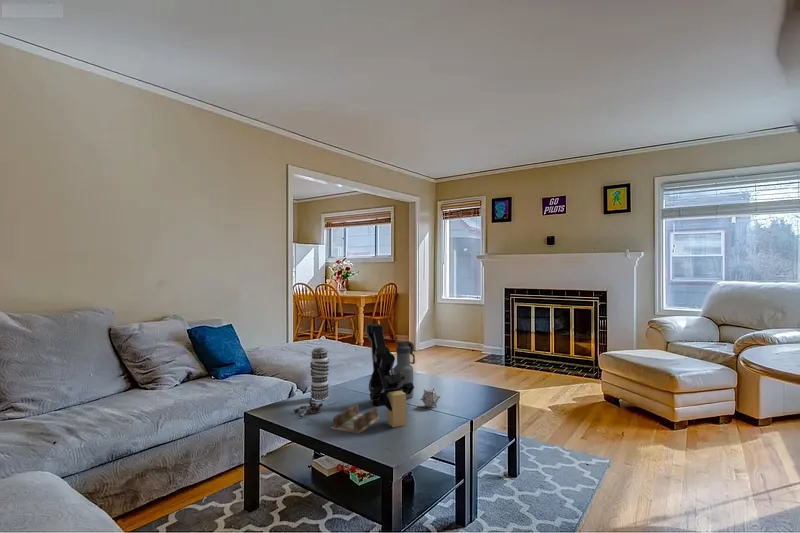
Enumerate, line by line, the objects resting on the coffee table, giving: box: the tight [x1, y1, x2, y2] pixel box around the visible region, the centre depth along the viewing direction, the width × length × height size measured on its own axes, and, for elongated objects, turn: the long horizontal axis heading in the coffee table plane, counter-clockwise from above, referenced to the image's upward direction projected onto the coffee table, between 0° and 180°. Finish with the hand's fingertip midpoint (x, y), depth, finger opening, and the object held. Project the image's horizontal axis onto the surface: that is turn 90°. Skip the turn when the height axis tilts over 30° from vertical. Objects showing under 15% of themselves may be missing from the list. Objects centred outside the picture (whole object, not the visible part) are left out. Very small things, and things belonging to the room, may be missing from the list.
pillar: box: [387, 391, 407, 428], centre depth 179 cm, size 5×6×13 cm
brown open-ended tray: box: [330, 404, 380, 434], centre depth 180 cm, size 18×13×5 cm
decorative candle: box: [309, 347, 330, 400], centre depth 215 cm, size 9×9×25 cm
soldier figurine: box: [293, 398, 324, 418], centre depth 192 cm, size 8×11×12 cm
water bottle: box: [393, 339, 416, 400], centre depth 218 cm, size 10×10×28 cm
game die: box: [419, 388, 441, 409], centre depth 201 cm, size 9×8×10 cm
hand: (398, 409), depth 178 cm, fingers closed on pillar, 6 cm apart
